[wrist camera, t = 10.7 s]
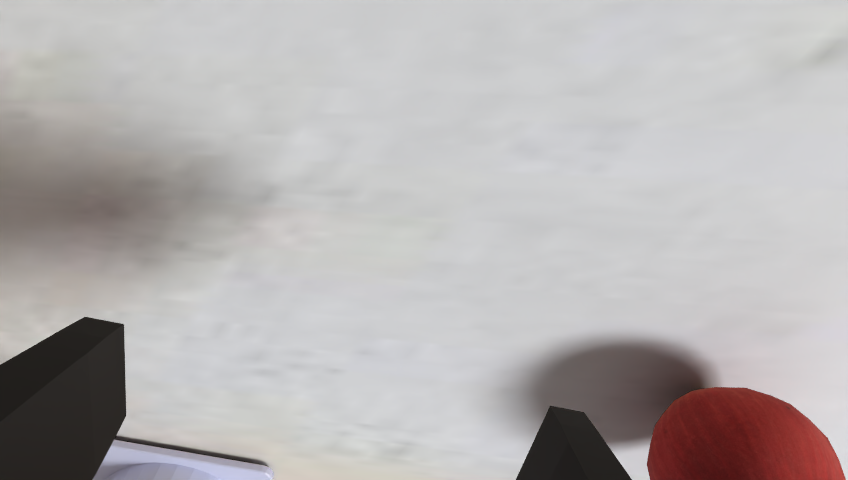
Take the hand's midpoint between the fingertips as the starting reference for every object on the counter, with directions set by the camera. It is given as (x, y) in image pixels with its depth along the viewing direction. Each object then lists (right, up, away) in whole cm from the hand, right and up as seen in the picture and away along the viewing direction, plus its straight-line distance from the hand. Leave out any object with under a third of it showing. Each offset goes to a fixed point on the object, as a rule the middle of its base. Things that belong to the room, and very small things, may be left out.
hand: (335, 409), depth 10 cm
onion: (+12, -3, +13) cm, 18 cm away
